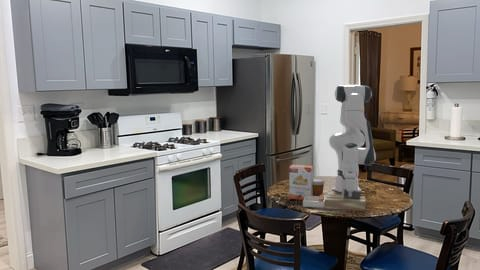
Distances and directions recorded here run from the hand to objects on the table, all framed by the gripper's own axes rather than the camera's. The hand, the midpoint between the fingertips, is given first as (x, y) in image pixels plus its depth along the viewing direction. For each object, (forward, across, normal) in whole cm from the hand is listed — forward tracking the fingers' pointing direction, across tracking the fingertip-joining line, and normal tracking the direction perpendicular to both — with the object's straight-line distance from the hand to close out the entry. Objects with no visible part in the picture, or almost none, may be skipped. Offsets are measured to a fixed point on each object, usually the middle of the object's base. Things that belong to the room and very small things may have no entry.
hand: (350, 195), depth 231 cm
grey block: (+1, 0, 0) cm, 1 cm away
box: (+7, 0, -20) cm, 21 cm away
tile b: (+4, +3, -15) cm, 16 cm away
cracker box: (+7, -9, -29) cm, 32 cm away
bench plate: (+7, 0, -3) cm, 7 cm away
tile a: (+4, -2, -15) cm, 16 cm away
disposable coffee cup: (+7, -12, -20) cm, 24 cm away
